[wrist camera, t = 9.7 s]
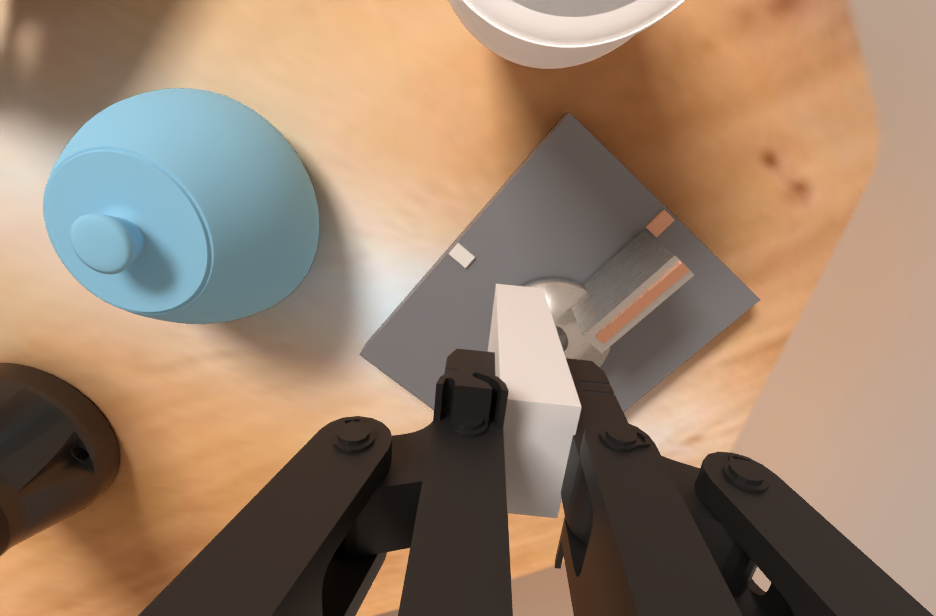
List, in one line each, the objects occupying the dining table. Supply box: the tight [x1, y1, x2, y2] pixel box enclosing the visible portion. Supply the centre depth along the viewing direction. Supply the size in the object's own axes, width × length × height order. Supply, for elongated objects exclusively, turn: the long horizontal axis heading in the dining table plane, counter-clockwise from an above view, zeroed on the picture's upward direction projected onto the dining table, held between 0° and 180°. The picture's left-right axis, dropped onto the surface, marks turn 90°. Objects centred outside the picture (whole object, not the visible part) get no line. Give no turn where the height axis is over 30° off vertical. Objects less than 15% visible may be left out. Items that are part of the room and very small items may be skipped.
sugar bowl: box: [43, 88, 319, 324], centre depth 28 cm, size 15×15×12 cm
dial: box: [520, 230, 694, 367], centre depth 29 cm, size 13×8×6 cm, turn 138°
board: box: [360, 113, 760, 412], centre depth 34 cm, size 22×18×2 cm
